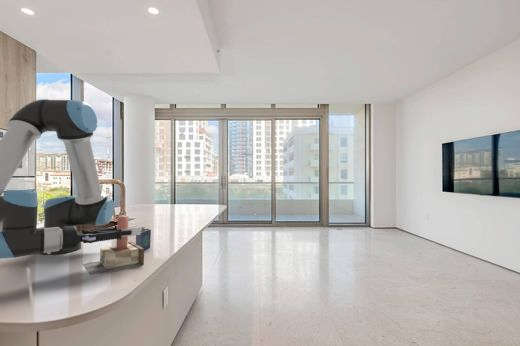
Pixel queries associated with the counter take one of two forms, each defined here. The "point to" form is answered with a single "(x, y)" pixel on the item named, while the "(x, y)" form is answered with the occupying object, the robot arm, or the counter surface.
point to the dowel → (120, 225)
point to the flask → (144, 238)
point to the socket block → (118, 256)
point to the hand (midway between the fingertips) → (138, 230)
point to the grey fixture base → (99, 268)
